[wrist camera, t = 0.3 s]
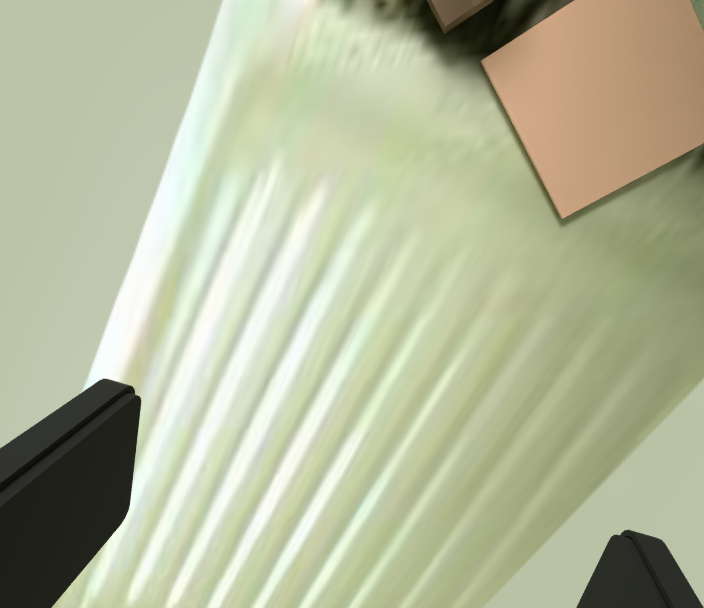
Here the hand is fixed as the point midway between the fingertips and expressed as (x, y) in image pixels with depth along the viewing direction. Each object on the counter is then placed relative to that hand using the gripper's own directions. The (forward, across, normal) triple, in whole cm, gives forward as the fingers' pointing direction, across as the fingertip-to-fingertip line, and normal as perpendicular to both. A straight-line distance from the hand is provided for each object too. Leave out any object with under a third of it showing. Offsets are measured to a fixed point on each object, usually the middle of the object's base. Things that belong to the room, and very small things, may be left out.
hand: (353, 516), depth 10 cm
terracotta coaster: (+30, -10, -13) cm, 34 cm away
